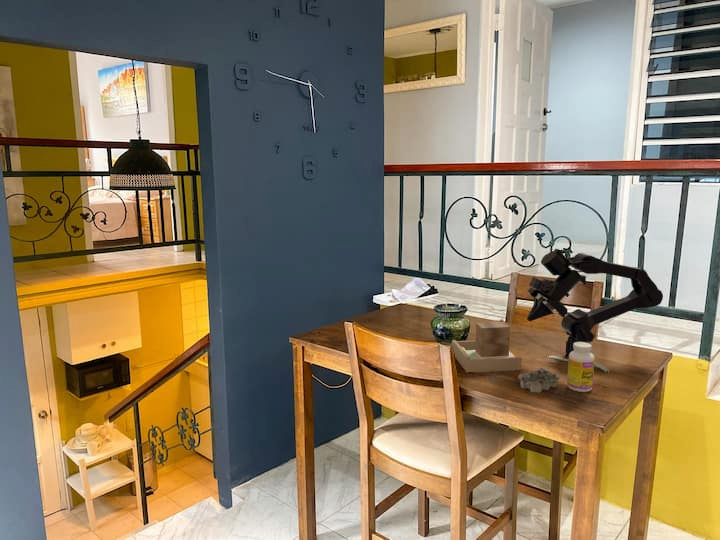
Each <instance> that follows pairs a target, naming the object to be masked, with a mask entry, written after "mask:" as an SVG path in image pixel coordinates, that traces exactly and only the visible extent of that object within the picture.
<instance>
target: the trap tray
mask: <svg viewBox="0 0 720 540" xmlns="http://www.w3.org/2000/svg"><path fill="white" fill-rule="evenodd" d="M452 346H453V349H454V353H455V357H454V358H455V359H456V361H457V362H458V363H459V364H460V366H461V367H462V368H463V370H464V371H465V372H466V373H467V374H469V373H468V372H475V373H489V372H490V373H492V371H493V372H509V371H512V372H513V371H521V370H522V356H515V355H514V354H513V353H512V352H511V351H510V350H509V356H494V357H481V356H480V355H479V354H478V353H477V352H476V339H475V340H459V341H458V340H456V339H452V341H451V347H452Z"/></svg>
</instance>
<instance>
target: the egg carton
mask: <svg viewBox="0 0 720 540" xmlns="http://www.w3.org/2000/svg"><path fill="white" fill-rule="evenodd" d="M517 379H519V380H520V382H519V383H520V388H521V389H528V390H529V392H531V393H541V392H542V391H543V390H547V391H548V390H549V389H550V387H552V388H556V387H558V381H560V379H561V376H557V375H556V373H553V372H551V371H549V370H546V369H545V368H543V367H540V368H539V369H537V370H531V371H529V372H527V373H520V374H519V375H518V377H517Z"/></svg>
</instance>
